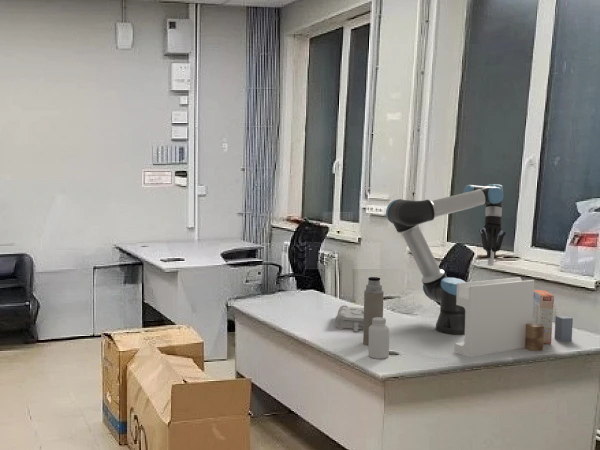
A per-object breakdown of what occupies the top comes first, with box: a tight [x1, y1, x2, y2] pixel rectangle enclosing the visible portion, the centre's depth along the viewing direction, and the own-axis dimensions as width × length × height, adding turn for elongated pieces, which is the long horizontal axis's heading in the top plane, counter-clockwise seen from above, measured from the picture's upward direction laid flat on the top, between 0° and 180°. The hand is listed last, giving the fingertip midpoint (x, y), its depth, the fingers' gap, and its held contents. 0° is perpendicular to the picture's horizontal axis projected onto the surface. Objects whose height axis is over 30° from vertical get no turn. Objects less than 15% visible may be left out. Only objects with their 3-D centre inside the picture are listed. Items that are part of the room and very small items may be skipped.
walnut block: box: [525, 324, 544, 352], centre depth 251 cm, size 5×5×10 cm
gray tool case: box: [334, 305, 364, 332], centre depth 289 cm, size 19×28×8 cm
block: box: [454, 276, 535, 358], centre depth 250 cm, size 35×8×28 cm, turn 119°
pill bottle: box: [367, 317, 390, 360], centre depth 238 cm, size 8×8×15 cm
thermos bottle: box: [362, 276, 385, 347], centre depth 256 cm, size 8×8×28 cm
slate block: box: [554, 315, 574, 342], centre depth 267 cm, size 5×5×10 cm
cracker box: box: [532, 289, 555, 345], centre depth 266 cm, size 14×6×21 cm, turn 172°
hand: (490, 265), depth 291 cm, fingers closed
